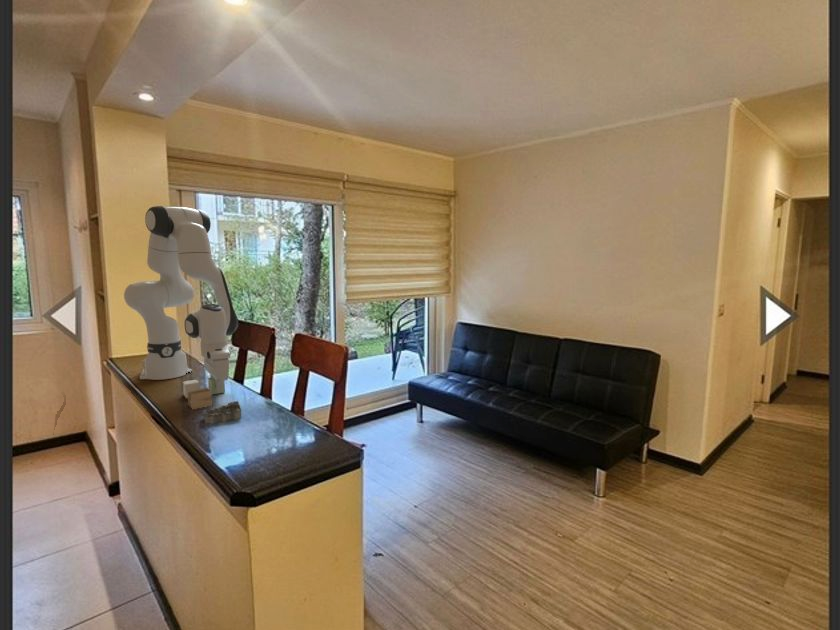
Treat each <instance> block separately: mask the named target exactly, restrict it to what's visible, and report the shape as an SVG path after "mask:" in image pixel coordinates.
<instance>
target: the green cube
mask: <svg viewBox="0 0 840 630" xmlns="http://www.w3.org/2000/svg"><path fill="white" fill-rule="evenodd" d="M207 384H208V386H207V388H208V389H209V390H210V391H211V394H212V395H217V394H224V393H226V386H225V385H226V384H225V381H222V389H220V390H217V389H216V386H215V384H216V381H215V378H214V377H212V378H210V377H208V378H207Z"/></svg>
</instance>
